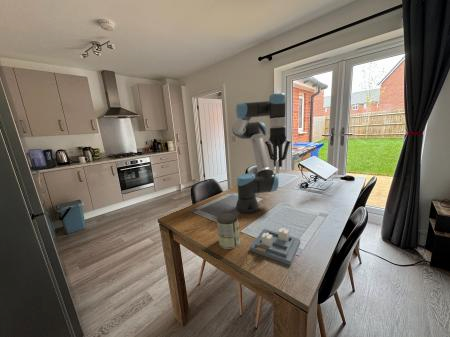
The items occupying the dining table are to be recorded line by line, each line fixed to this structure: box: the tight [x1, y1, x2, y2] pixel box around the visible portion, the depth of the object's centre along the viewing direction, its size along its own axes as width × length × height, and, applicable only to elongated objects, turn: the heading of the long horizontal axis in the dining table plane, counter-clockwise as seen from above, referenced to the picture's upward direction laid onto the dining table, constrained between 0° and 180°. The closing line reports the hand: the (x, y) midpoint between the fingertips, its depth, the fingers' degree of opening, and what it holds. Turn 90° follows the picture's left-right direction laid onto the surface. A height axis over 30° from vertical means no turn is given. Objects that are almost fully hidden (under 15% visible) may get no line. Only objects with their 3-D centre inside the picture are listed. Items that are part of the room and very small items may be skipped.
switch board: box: [249, 228, 301, 266], centre depth 83 cm, size 18×16×3 cm
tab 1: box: [261, 232, 273, 247], centre depth 81 cm, size 4×3×6 cm
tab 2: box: [277, 227, 290, 242], centre depth 83 cm, size 4×3×6 cm
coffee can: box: [215, 211, 241, 250], centre depth 87 cm, size 10×10×14 cm
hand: (278, 172), depth 96 cm, fingers closed
